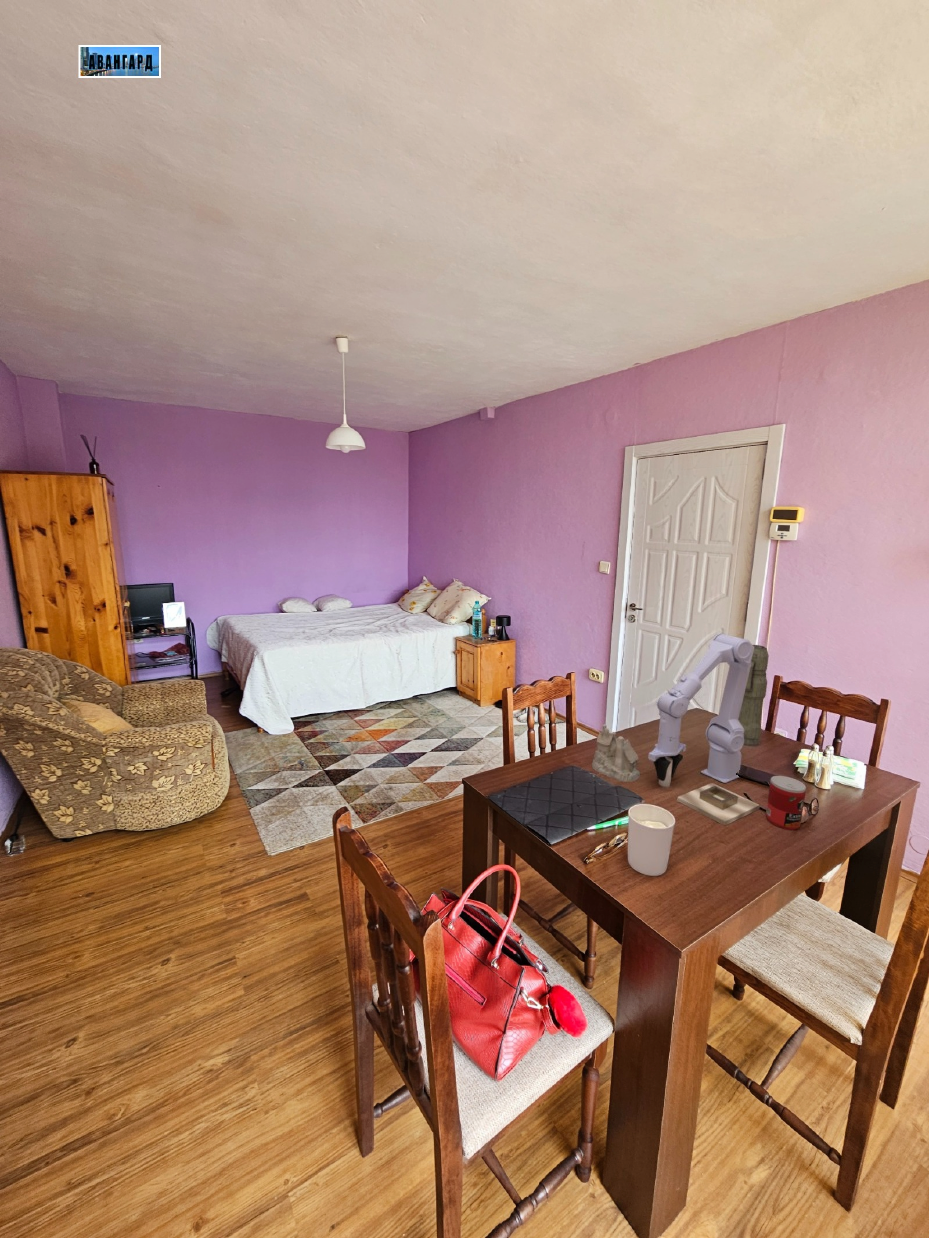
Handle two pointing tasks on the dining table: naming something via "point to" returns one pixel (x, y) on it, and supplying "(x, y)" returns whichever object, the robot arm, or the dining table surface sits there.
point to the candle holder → (649, 838)
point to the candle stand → (718, 803)
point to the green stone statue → (754, 697)
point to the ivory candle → (667, 775)
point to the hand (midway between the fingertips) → (664, 777)
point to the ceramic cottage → (615, 757)
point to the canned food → (785, 802)
